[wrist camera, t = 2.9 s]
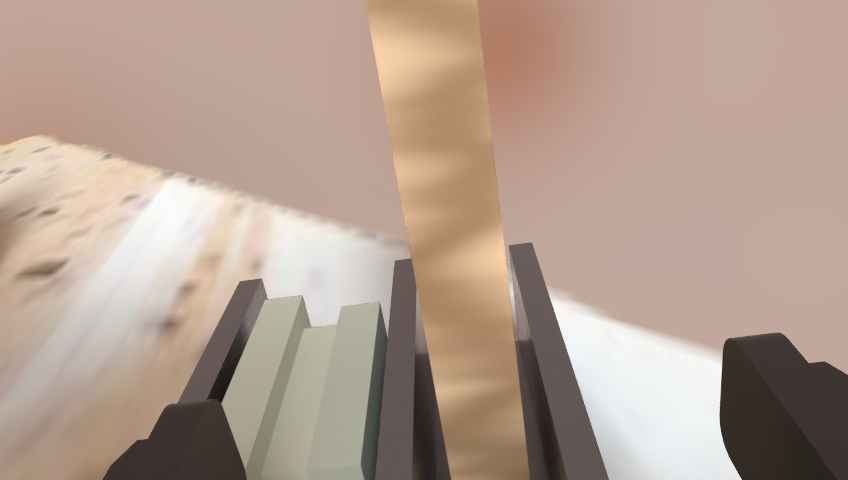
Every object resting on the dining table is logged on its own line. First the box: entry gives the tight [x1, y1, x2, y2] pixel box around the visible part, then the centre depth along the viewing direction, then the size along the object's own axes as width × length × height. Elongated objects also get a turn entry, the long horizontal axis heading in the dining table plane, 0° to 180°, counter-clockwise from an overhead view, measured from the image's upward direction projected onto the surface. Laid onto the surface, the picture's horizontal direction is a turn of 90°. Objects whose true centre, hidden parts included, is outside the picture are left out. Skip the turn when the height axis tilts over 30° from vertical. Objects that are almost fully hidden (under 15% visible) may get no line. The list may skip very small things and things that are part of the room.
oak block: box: [365, 0, 530, 480], centre depth 21 cm, size 2×6×20 cm, turn 0°
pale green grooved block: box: [221, 295, 388, 480], centre depth 24 cm, size 5×10×5 cm, turn 0°
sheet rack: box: [178, 243, 609, 480], centre depth 24 cm, size 13×14×6 cm
